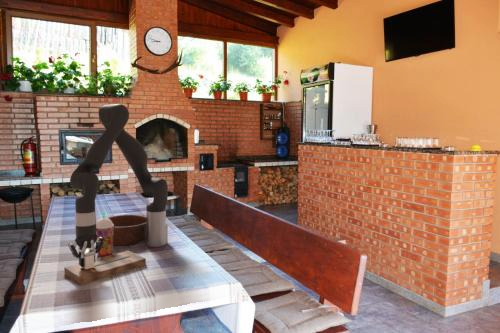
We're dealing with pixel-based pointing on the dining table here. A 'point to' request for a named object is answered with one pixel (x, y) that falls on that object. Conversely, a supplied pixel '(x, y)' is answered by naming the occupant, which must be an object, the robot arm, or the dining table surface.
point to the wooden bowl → (129, 229)
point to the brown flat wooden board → (105, 267)
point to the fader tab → (89, 259)
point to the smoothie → (105, 235)
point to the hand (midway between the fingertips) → (87, 265)
